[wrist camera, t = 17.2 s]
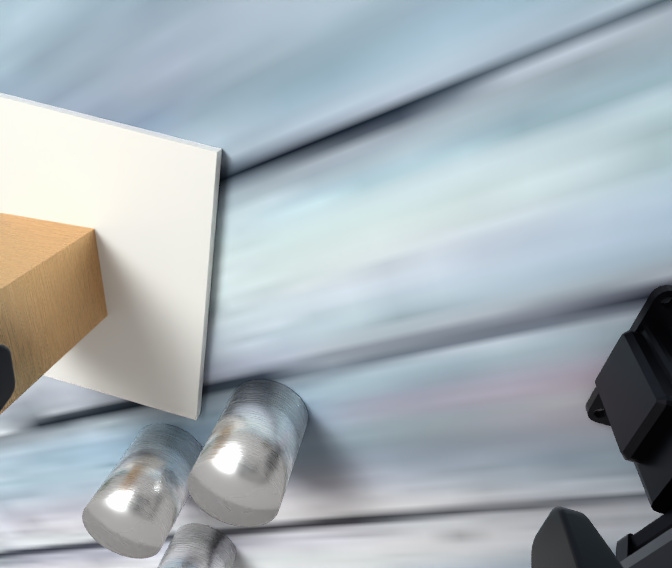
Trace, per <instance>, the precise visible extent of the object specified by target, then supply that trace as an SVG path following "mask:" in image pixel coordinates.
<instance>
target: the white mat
mask: <svg viewBox="0 0 672 568" xmlns="http://www.w3.org/2000/svg"><path fill="white" fill-rule="evenodd" d="M221 156H222V149H220V148H217V147H213V146H209V145H205V144H201V143H197V142H193V141H189V140H185V139H181V138H177V137H173V136H169V135H165V134H161V133H157V132H154V131H150V130H146V129H142V128H138V127H134V126H130V125H126V124H122V123H118V122H114V121H110V120H106V119H102V118H98V117H94V116H91V115H87V114H83V113H79V112H75V111H71V110H67V109H63V108H59V107H55V106H51V105H47V104H43V103H39V102H35V101H31V100H28V99H24V98H20V97H16V96H12V95H8V94H4V93H0V213H5V214H11V215H17V216H23V217H29V218H35V219H41V220H47V221H53V222H59V223H64V224H70V225H76V226H82V227H88V228H94V229H95V235H96V242H97V248H98V255H99V262H100V268H101V275H102V281H103V288H104V295H105V301H106V308H107V314H108V316H107V317H106V318H104V319H103V320H102V321H101V322H100V323H99V324H98V325H97V326H96V327H95V328H94V329H92V330H91V331H90V332H89V333H88V334H87V335H86V336H85V337H84V338H83V339H82V340H81V341H79V342H78V343H77V344H76V345H75V346H74V347H73V348H72V349H71V350H70V351H69V352H68V353H66V354H65V355H64V356H63V357H62V358H61V359H60V360H59V361H58V362H57V363H56V364H54V365H53V366H52V367H51V368H50V369H49V370H48V371H47V372H46V373H45V374H44V376H47V377H51V378H54V379H58V380H61V381H64V382H68V383H71V384H75V385H78V386H81V387H85V388H88V389H91V390H95V391H98V392H102V393H105V394H108V395H112V396H115V397H119V398H122V399H125V400H129V401H132V402H135V403H139V404H142V405H146V406H149V407H152V408H156V409H159V410H163V411H166V412H169V413H173V414H176V415H179V416H183V417H186V418H190V419H193V420H197V418H198V417H199V415H200V411H201V399H202V387H203V375H204V363H205V350H206V338H207V326H208V314H209V302H210V290H211V278H212V265H213V253H214V241H215V229H216V217H217V205H218V192H219V180H220V168H221Z"/></svg>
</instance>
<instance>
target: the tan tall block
mask: <svg viewBox="0 0 672 568" xmlns="http://www.w3.org/2000/svg"><path fill="white" fill-rule="evenodd" d="M107 316H108V314H107V308H106V301H105V295H104V288H103V281H102V275H101V268H100V262H99V255H98V248H97V242H96V235H95V229H94V228H88V227H82V226H76V225H70V224H64V223H59V222H53V221H47V220H41V219H35V218H29V217H23V216H17V215H11V214H5V213H0V344H3V345H5V346H7V347H8V348H9V349H10V352H11V356H12V363H13V369H14V375H15V389H14V392H13V394H12V396H11V398H10V399H9V401H8V402H7V403H6V405H5V406H4V407H3V409H2V410H1V411H0V414H1V413H2V412H3V411H4V410H6V409H7V408H8V407H9V406H10V405H11V404H12V403H13V402H14V401H15V400H16V399H18V398H19V397H20V396H21V395H22V394H23V393H24V392H25V391H26V390H27V389H28V388H29V387H31V386H32V385H33V384H34V383H35V382H36V381H37V380H38V379H39V378H40V377H41V376H43V375H44V374H45V373H46V372H47V371H48V370H49V369H50V368H51V367H52V366H53V365H54V364H56V363H57V362H58V361H59V360H60V359H61V358H62V357H63V356H64V355H65V354H66V353H68V352H69V351H70V350H71V349H72V348H73V347H74V346H75V345H76V344H77V343H78V342H79V341H81V340H82V339H83V338H84V337H85V336H86V335H87V334H88V333H89V332H90V331H91V330H92V329H94V328H95V327H96V326H97V325H98V324H99V323H100V322H101V321H102V320H103V319H104V318H106V317H107Z"/></svg>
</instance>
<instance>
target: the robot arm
mask: <svg viewBox="0 0 672 568" xmlns="http://www.w3.org/2000/svg"><path fill="white" fill-rule="evenodd" d="M665 297H672V286H670V285H664V286H660V287H658V288H656V289H654V291H653V292H652V293H651V294H650V296H649V298H648V299H647V301H646V303H645V304H644V306H643V308H642V310H641V311H640V313H639V315H638V316H637V318H636V320H635V322H634V323H633V325H632V327H631V328H630V330H629V331H627V332H625V333H624V334H622V335H621V337H620V339H619V340H618V342H617V344H616V346H615V347H614V349H613V351H612V353H611V354H610V356H609V358H608V359H607V361H606V363H605V365H604V366H603V368H602V370H601V372H600V373H599V375H598V377H597V378H596V380H595V384H596V388H595V390H594V391H593V393H592V395H591V397H590V398H589V400H588V402H587V403H586V411H587V414H588V417H589V418H590V419H591V420H593V421H595V422H598V423H601V424H605V425H609V426H611V427H612V430H613V433H614V435H615V438H616V441H617V444H618V446H619V449H620V452H621V454H622V455H623V457H624V459H625V460H628V461H631V462H634V464H635V466H636V469H637V471H638V474H639V476H640V479H641V482H642V484H643V487H644V489H645V492H646V494H647V497H648V500H649V502H650V505H651V507H652V509H653V510H654V511H656V512H659V513H662V514H663V515H662V516H661V517H659V518H658V519H656V520H655V521H653V522H652V523H650V524H649V525H647V526H646V527H644V528H643V529H642V530H640V531H639V532H637V533H636V534H634V535H633V534H631V533H630V534H628V535H626V536H625V537H623V538H622V539H620V540H619V541H618V542H617V546H616V556H615V555H614V554H613V552H612V551H611V549H610V548H609V547H608V545H607V544H606V542H605V541H604V540H603V538H602V537H601V536H600V534H599V533H598V531H597V530H596V529H595V527H594V526H593V524H592V523H591V522H590V520H589V519H588V518H587V517H586V516H585V515H584V514H582V513H580V512H577V511H574V510H570V509H567V508H564V507H555V508H554V509H553V510H552V511H551V512H550V514H549V516H548V517H547V519H546V520H545V522H544V524H543V525H542V527H541V528H540V530H539V532H538V533H537V535H536V537H535V539H534V541H533V545H532V554H531V568H672V299H671V300H670V301H669V302H667V303H661V300H662V299H663V298H665ZM14 389H15V375H14V369H13V363H12V356H11V352H10V349H9V348H8V347H7V346H5V345H3V344H0V411H1V410H2V409H3V407H4V406H5V405H6V403H7V402H8V401H9V399H10V398H11V396H12V394H13V392H14ZM600 408H602V409H603V410H602V411H595V410H597V409H600Z"/></svg>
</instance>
